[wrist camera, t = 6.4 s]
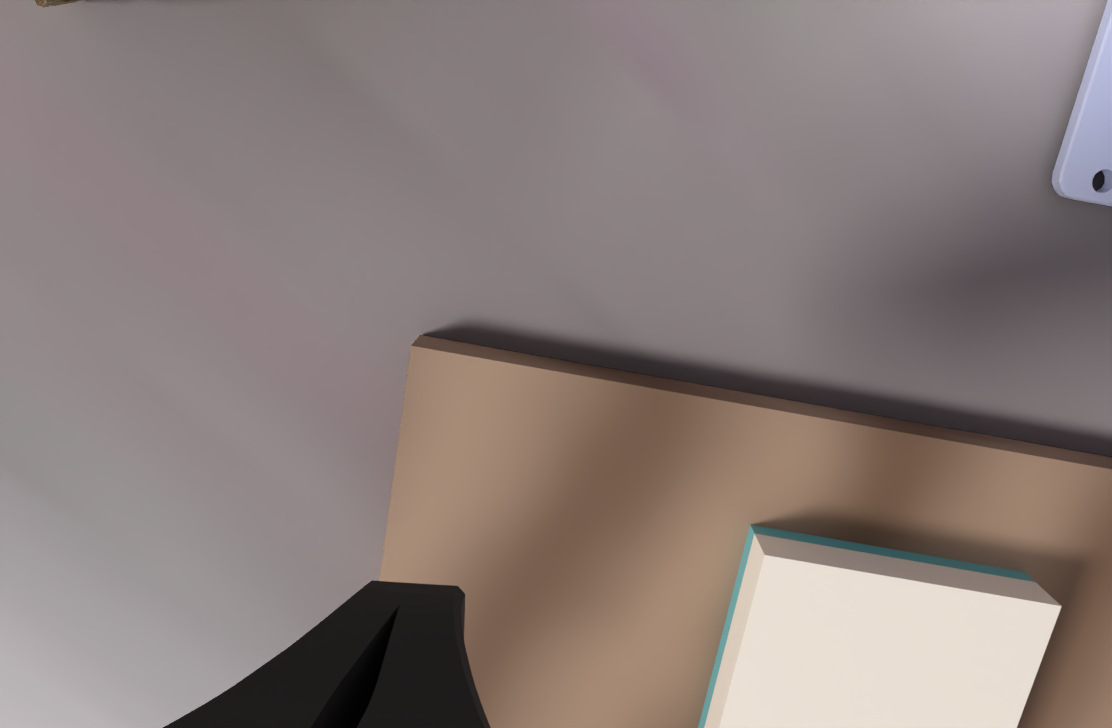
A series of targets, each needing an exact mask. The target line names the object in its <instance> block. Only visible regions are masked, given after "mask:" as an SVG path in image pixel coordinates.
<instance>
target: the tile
mask: <svg viewBox="0 0 1112 728" xmlns="http://www.w3.org/2000/svg"><path fill="white" fill-rule="evenodd" d="M1061 607H1062V606H1061V605H1060V604H1059V603H1058V602H1057V601H1055V600H1054V599H1053V598H1052V597H1051V596H1050V595H1049V594H1048V593H1047V592H1046V591H1045V590H1044V589H1043V588H1041V587H1040V586H1039V585H1038V584H1037V583H1036V582H1035V581H1034V580H1033V579H1032V578H1031V577H1030V576H1029V575H1027V574H1026V573H1025V572H1021V571H1015V570H1010V569H1004V568H998V567H992V566H987V565H981V564H975V563H969V562H964V561H958V560H952V559H946V558H940V557H935V556H929V555H923V554H917V553H912V552H906V551H900V550H894V549H888V548H883V547H877V546H871V545H865V544H860V543H854V542H848V541H842V540H837V539H831V538H825V537H819V536H813V535H808V534H802V533H796V532H790V531H785V530H779V529H773V528H767V527H761V526H756V525H750V527H749V531H748V535H747V539H746V543H745V547H744V550H743V554H742V558H741V562H740V566H739V570H738V574H737V578H736V582H735V586H734V590H733V593H732V597H731V601H730V605H729V609H728V613H727V617H726V621H725V625H724V629H723V632H722V636H721V640H720V644H719V648H718V652H717V656H716V660H715V664H714V668H713V671H712V675H711V679H710V683H709V687H708V691H707V695H706V699H705V703H704V707H703V710H702V714H701V718H700V722H699V726H698V728H1017V726H1018V723H1019V720H1020V718H1021V715H1022V712H1023V710H1024V707H1025V704H1026V701H1027V699H1028V696H1029V693H1030V691H1031V688H1032V685H1033V682H1034V680H1035V677H1036V674H1037V672H1038V669H1039V666H1040V664H1041V661H1042V658H1043V655H1044V653H1045V650H1046V647H1047V645H1048V642H1049V639H1050V636H1051V634H1052V631H1053V628H1054V626H1055V623H1056V620H1057V617H1058V615H1059V612H1060V609H1061Z"/></svg>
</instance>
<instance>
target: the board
mask: <svg viewBox="0 0 1112 728" xmlns="http://www.w3.org/2000/svg"><path fill="white" fill-rule="evenodd" d="M750 525H756V526H761V527H767V528H773V529H779V530H785V531H790V532H796V533H802V534H808V535H813V536H819V537H825V538H831V539H837V540H842V541H848V542H854V543H860V544H865V545H871V546H877V547H883V548H888V549H894V550H900V551H906V552H912V553H917V554H923V555H929V556H935V557H940V558H946V559H952V560H958V561H964V562H969V563H975V564H981V565H987V566H992V567H998V568H1004V569H1010V570H1015V571H1021V572H1025V573H1026V574H1027V575H1029V576H1030V577H1031V578H1032V579H1033V580H1034V581H1035V582H1036V583H1037V584H1038V585H1039V586H1040V587H1041V588H1043V589H1044V590H1045V591H1046V592H1047V593H1048V594H1049V595H1050V596H1051V597H1052V598H1053V599H1054V600H1055V601H1057V602H1058V603H1059V604H1060V605H1061V606H1062V607H1061V609H1060V612H1059V615H1058V617H1057V620H1056V623H1055V626H1054V628H1053V631H1052V634H1051V636H1050V639H1049V642H1048V645H1047V647H1046V650H1045V653H1044V655H1043V658H1042V661H1041V664H1040V666H1039V669H1038V672H1037V674H1036V677H1035V680H1034V682H1033V685H1032V688H1031V691H1030V693H1029V696H1028V699H1027V701H1026V704H1025V707H1024V710H1023V712H1022V715H1021V718H1020V720H1019V723H1018V726H1017V728H1112V457H1108V456H1102V455H1096V454H1091V453H1085V452H1079V451H1074V450H1068V449H1062V448H1057V447H1051V446H1045V445H1040V444H1034V443H1028V442H1023V441H1017V440H1011V439H1006V438H1000V437H995V436H989V435H983V434H978V433H972V432H966V431H961V430H955V429H949V428H944V427H938V426H932V425H927V424H921V423H915V422H910V421H904V420H898V419H893V418H887V417H881V416H876V415H870V414H864V413H859V412H853V411H847V410H842V409H836V408H830V407H825V406H819V405H813V404H808V403H802V402H797V401H791V400H785V399H780V398H774V397H768V396H763V395H757V394H751V393H746V392H740V391H734V390H729V389H723V388H717V387H712V386H706V385H700V384H695V383H689V382H683V381H678V380H672V379H666V378H661V377H655V376H649V375H644V374H638V373H632V372H627V371H621V370H616V369H610V368H604V367H599V366H593V365H587V364H582V363H576V362H570V361H565V360H559V359H553V358H548V357H542V356H536V355H531V354H525V353H519V352H514V351H508V350H502V349H497V348H491V347H485V346H480V345H474V344H468V343H463V342H457V341H451V340H446V339H440V338H434V337H429V336H423V335H420V336H419V337H418V338H417V340H416V341H415V342H414V343H413V344H412V345H411V351H410V358H409V365H408V373H407V380H406V387H405V395H404V402H403V409H402V417H401V424H400V432H399V439H398V446H397V454H396V461H395V468H394V476H393V483H392V490H391V498H390V505H389V512H388V520H387V527H386V534H385V542H384V549H383V556H382V564H381V571H380V579H379V581H386V582H403V583H419V584H436V585H452V586H458V587H459V588H460V589H461V590H462V591H463V592H464V593H465V623H464V643H465V648H466V652H467V656H468V661H469V665H470V669H471V673H472V676H473V680H474V683H475V686H476V690H477V693H478V695H479V698H480V701H481V704H482V707H483V710H484V712H485V715H486V717H487V720H488V722H489V725H490V727H491V728H698V726H699V722H700V718H701V714H702V710H703V707H704V703H705V699H706V695H707V691H708V687H709V683H710V679H711V675H712V671H713V668H714V664H715V660H716V656H717V652H718V648H719V644H720V640H721V636H722V632H723V629H724V625H725V621H726V617H727V613H728V609H729V605H730V601H731V597H732V593H733V590H734V586H735V582H736V578H737V574H738V570H739V566H740V562H741V558H742V554H743V550H744V547H745V543H746V539H747V535H748V531H749V527H750Z"/></svg>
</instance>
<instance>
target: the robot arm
mask: <svg viewBox="0 0 1112 728" xmlns="http://www.w3.org/2000/svg"><path fill="white" fill-rule="evenodd" d="M1099 171H1102V172H1103V174H1104V176H1105V183H1104V184H1103V186H1102V188H1101V189H1099V190H1098V191H1095V190H1094V188H1093V186H1092V179H1093V177H1094V176H1095V174H1096V173H1097V172H1099ZM1052 185H1053V188H1054V190H1055V191H1056V192H1057V193H1058V195H1059V196H1062V197H1064V198H1067V199H1072V200H1078V201H1083V202H1089V203H1094V204H1099V205H1105V206H1110V207H1112V0H1108V1H1107V4H1106V8H1105V11H1104V14H1103V17H1102V20H1101V23H1100V26H1099V29H1098V33H1097V36H1096V39H1095V42H1094V45H1093V48H1092V51H1091V55H1090V58H1089V61H1088V64H1087V67H1086V70H1085V73H1084V76H1083V80H1082V83H1081V86H1080V89H1079V92H1078V95H1077V98H1076V102H1075V105H1074V108H1073V111H1072V114H1071V117H1070V120H1069V123H1068V127H1067V130H1066V133H1065V136H1064V139H1063V142H1062V145H1061V149H1060V152H1059V155H1058V158H1057V161H1056V164H1055V167H1054V170H1053V175H1052ZM464 623H465V593H464V592H463V591H462V590H461V589H460V588H459V587H458V586H452V585H436V584H419V583H403V582H386V581H371V582H370V583H368V584H367V585H366V586H364V587H363V588H362V589H361V590H359V591H358V592H357V593H356V594H355V595H353V596H352V597H351V598H350V599H348V600H347V601H346V602H345V603H343V604H342V605H341V606H340V607H339V608H337V609H336V610H335V611H334V612H333V613H331V614H330V615H329V616H328V617H326V618H325V619H324V620H323V621H322V622H320V623H319V624H318V625H317V626H315V627H314V628H313V629H311V630H310V631H309V632H308V633H306V634H305V635H304V636H303V637H301V638H300V639H299V640H298V641H296V642H295V643H294V644H292V645H291V646H290V647H288V648H287V649H286V650H284V651H283V652H281V653H280V654H279V655H277V656H276V657H274V658H273V659H271V660H270V661H269V662H267V663H266V664H264V665H263V666H262V667H260V668H259V669H257V670H256V671H254V672H253V673H252V674H250V675H249V676H247V677H246V678H244V679H243V680H242V681H240V682H239V683H237V684H236V685H234V686H233V687H231V688H230V689H228V690H227V691H225V692H223V693H222V694H220V695H219V696H217V697H215V698H214V699H212V700H211V701H209V702H207V703H206V704H204V705H202V706H201V707H199V708H197V709H195V710H194V711H192V712H190V713H188V714H186V715H185V716H183V717H181V718H179V719H178V720H176V721H174V722H172V723H171V724H169V725H167V726H165V727H163V728H491V727H490V725H489V722H488V720H487V717H486V715H485V712H484V710H483V707H482V704H481V701H480V698H479V695H478V693H477V690H476V686H475V683H474V680H473V676H472V673H471V669H470V665H469V661H468V656H467V652H466V648H465V643H464Z"/></svg>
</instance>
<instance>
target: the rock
mask: <svg viewBox="0 0 1112 728" xmlns="http://www.w3.org/2000/svg"><path fill="white" fill-rule="evenodd" d="M35 1H36V3H37V6H42V7H48V6H50V5H51V6H56V5H62V4H67V3H72V2H77V1H81V0H35Z"/></svg>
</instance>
